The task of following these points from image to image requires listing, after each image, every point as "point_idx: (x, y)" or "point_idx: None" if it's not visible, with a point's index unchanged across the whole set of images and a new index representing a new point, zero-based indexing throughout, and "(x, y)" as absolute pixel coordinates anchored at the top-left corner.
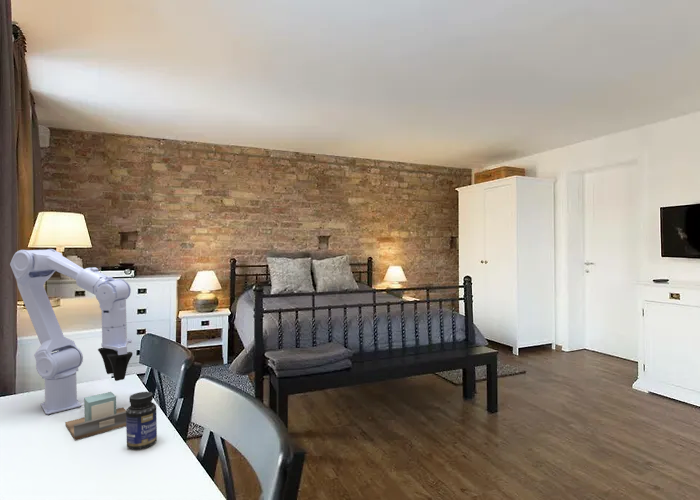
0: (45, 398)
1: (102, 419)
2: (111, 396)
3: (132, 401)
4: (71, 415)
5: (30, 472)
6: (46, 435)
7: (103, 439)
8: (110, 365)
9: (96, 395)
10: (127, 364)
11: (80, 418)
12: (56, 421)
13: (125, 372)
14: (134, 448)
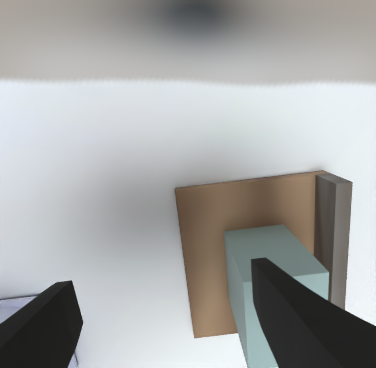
0: None
1: (343, 283)
2: (316, 287)
3: None
4: (120, 316)
5: None
6: (233, 363)
7: (367, 261)
8: (48, 357)
9: (252, 333)
10: (359, 319)
11: (192, 306)
12: (145, 347)
13: (293, 278)
14: None
